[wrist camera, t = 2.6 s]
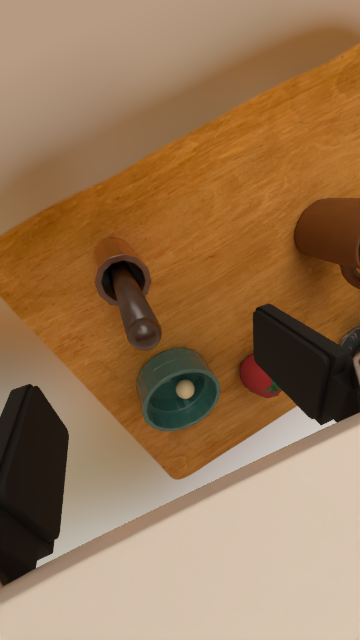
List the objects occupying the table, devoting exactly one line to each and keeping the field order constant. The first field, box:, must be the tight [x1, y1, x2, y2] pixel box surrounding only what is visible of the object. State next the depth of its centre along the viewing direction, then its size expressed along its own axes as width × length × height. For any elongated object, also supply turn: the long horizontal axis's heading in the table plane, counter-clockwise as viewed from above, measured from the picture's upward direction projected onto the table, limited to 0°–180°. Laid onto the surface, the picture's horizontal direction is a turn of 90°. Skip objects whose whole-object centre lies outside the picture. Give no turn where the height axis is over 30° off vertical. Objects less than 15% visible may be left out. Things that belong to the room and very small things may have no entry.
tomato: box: [240, 353, 282, 398], centre depth 40 cm, size 8×8×7 cm
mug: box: [295, 198, 360, 289], centre depth 31 cm, size 12×8×9 cm, turn 29°
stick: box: [109, 261, 162, 350], centre depth 19 cm, size 2×2×18 cm
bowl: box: [136, 348, 220, 431], centre depth 36 cm, size 12×12×6 cm
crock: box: [93, 237, 151, 306], centre depth 23 cm, size 4×4×9 cm
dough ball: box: [176, 379, 195, 399], centre depth 37 cm, size 3×3×3 cm
